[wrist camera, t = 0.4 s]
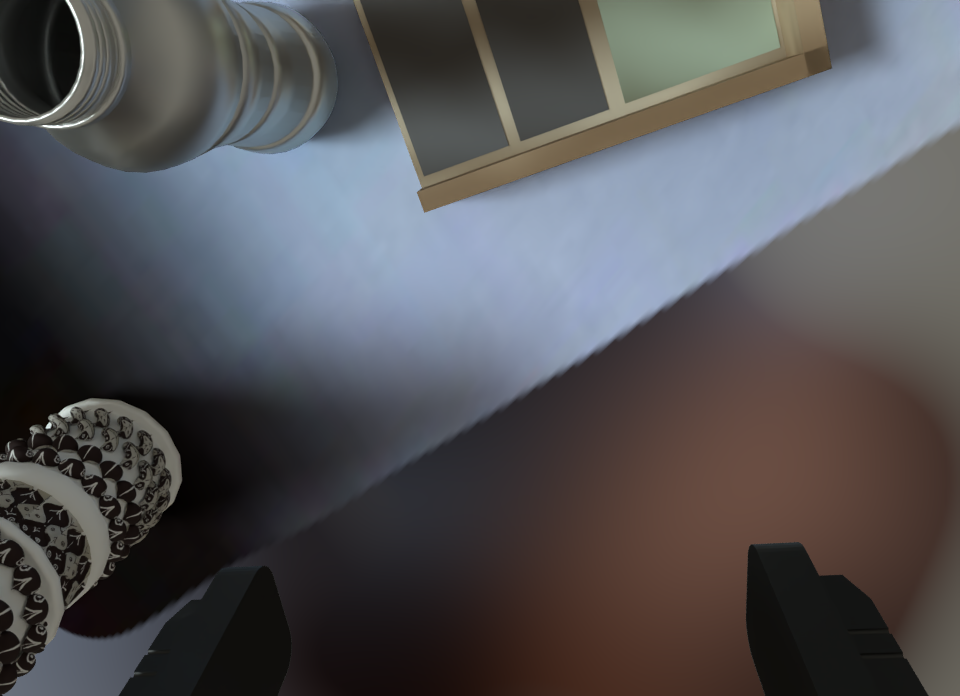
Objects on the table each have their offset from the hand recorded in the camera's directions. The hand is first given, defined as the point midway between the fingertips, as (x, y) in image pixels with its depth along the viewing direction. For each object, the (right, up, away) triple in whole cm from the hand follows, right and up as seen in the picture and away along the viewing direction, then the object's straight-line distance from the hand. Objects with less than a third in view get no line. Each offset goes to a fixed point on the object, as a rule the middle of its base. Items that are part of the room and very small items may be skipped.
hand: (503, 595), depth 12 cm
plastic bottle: (-10, +17, +23) cm, 31 cm away
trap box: (+3, +21, +21) cm, 30 cm away
